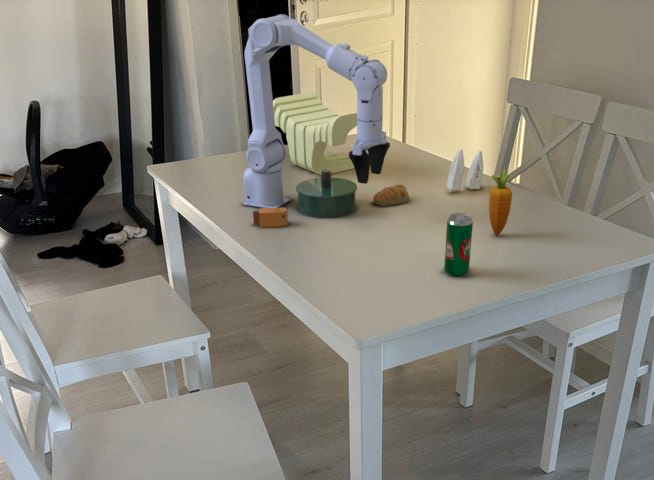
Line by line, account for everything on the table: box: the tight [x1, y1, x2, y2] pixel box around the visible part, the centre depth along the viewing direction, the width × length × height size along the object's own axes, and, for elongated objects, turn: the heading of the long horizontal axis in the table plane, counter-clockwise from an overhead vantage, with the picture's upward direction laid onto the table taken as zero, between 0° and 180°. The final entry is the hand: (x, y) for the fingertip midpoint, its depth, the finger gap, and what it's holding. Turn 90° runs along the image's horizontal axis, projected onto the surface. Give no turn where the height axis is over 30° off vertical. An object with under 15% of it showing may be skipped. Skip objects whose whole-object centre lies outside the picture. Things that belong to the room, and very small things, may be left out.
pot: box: [297, 191, 357, 219], centre depth 185 cm, size 14×14×5 cm
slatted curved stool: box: [273, 91, 357, 176], centre depth 212 cm, size 30×16×18 cm, turn 39°
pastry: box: [372, 184, 410, 207], centre depth 189 cm, size 9×7×4 cm
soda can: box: [443, 212, 474, 277], centre depth 149 cm, size 5×5×12 cm
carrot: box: [488, 169, 513, 237], centre depth 165 cm, size 5×5×15 cm
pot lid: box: [295, 169, 358, 199], centre depth 183 cm, size 15×15×5 cm
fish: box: [252, 207, 289, 229], centre depth 176 cm, size 8×4×4 cm, turn 95°
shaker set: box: [446, 149, 484, 193], centre depth 194 cm, size 12×4×11 cm, turn 122°
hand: (369, 178), depth 174 cm, fingers open, 7 cm apart
